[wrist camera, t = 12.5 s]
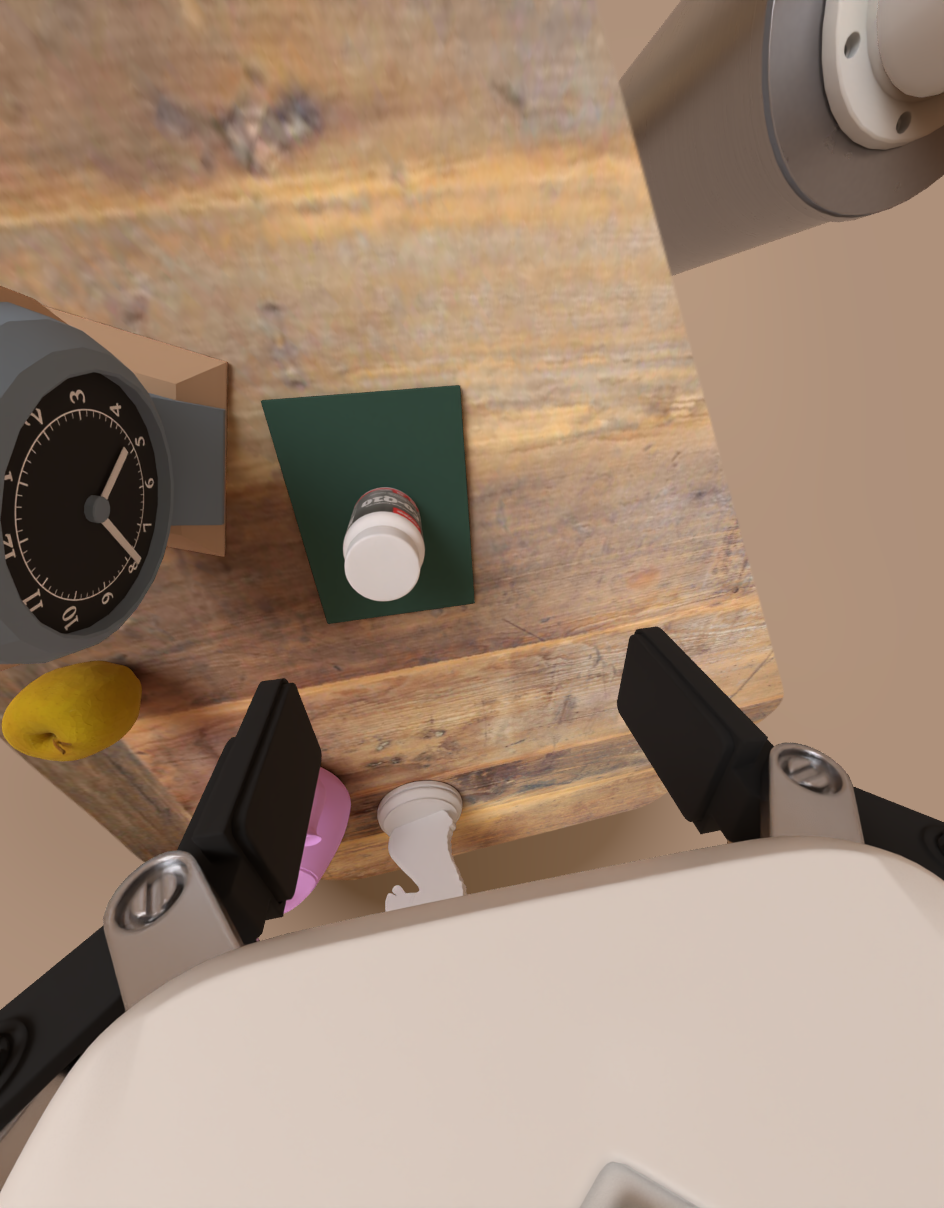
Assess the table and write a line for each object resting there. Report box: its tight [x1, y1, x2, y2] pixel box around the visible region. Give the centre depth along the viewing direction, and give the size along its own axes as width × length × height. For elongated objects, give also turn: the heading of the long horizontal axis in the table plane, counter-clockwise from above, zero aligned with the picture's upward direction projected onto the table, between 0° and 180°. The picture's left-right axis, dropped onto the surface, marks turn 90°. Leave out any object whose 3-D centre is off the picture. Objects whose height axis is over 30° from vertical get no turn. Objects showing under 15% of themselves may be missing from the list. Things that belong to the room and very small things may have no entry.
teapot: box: [284, 767, 351, 913], centre depth 36 cm, size 13×20×11 cm
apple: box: [2, 661, 142, 761], centre depth 28 cm, size 6×6×8 cm
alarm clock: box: [0, 286, 228, 671], centre depth 16 cm, size 14×10×18 cm
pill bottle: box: [343, 487, 425, 601], centre depth 25 cm, size 5×5×8 cm
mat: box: [261, 385, 475, 624], centre depth 28 cm, size 16×12×1 cm
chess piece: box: [377, 781, 467, 912], centre depth 40 cm, size 10×10×15 cm
